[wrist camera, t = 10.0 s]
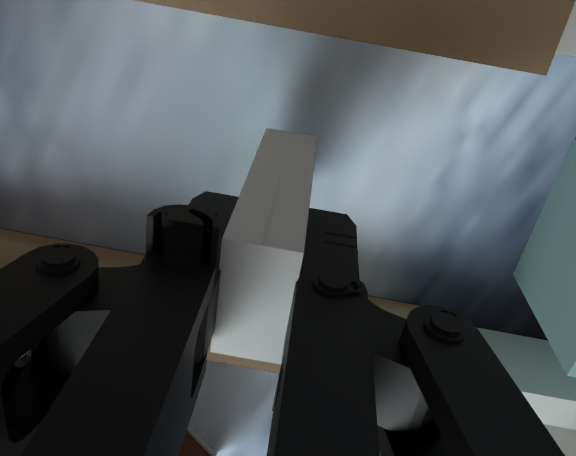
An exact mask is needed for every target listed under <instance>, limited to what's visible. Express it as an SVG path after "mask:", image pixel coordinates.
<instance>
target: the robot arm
mask: <svg viewBox="0 0 576 456" xmlns="http://www.w3.org/2000/svg"><path fill="white" fill-rule="evenodd" d="M316 145H317V137H315V136H310V135H304V134H298V133H292V132H287V131H281V130H275V129H270V128H267V129H266V131H265V134H264V136H263V138H262V141H261V143H260V146H259V148H258V151H257V153H256V156H255V158H254V161H253V163H252V166H251V168H250V171H249V173H248V176H247V178H246V181H245V183H244V186H243V188H242V191H241V193H240V196H239V197H235V196H230V195H224V194H218V193H213V192H207V191H206V192H204V193H202V194H200V195H198V196H197V197H195V198H193V199H192V200H191V202H190V204H189V205H169V206H163V207H160V208H157V209H154V210H153V211H152V212H150V213H149V214H148V215H147V230H146V255H145V257H144V258H143V260H142V261H141V263H140V264H138V265H133V266H124V267H99V261H98V257H97V256H96V255H95V253H94V252H93V251H91V250H89V249H88V248H86V247H84V246H79V245H74V244H67V243H63V244H62V243H56V244H51V245H46V246H41V247H38V248H36V249H33V250H31V251H29V252H27V253H25V254H24V255H22V256H20V257H19V258H17V259H15V260H14V261H12V262H11V263H9V264H7V265H6V266H4V267H3V268H1V269H0V456H179V453H180V450H181V447H182V444H183V441H184V438H185V434H186V431H187V428H188V425H189V422H190V418H191V415H192V412H193V409H194V406H195V402H196V399H197V396H198V393H199V390H200V386H201V383H202V380H203V377H204V374H205V370H206V360H207V351H208V348H209V345H210V342H211V350H210V352H213V353H218V354H224V355H230V356H235V357H241V358H247V359H252V360H258V361H264V362H269V363H275V364H281V368H280V373H279V378H278V383H277V388H276V393H275V399H274V404H273V409H272V411H273V417H272V424H271V431H270V438H269V444H268V451H267V456H380V454H381V456H565V455H564V453H563V452H562V450H561V449H560V447H559V446H558V445H557V443H556V442H555V440H554V439H553V437H552V436H551V434H550V433H549V431H548V430H547V429H546V427H545V426H544V424H543V423H542V421H541V420H540V418H539V417H538V415H537V414H536V413H535V411H534V410H533V408H532V407H531V405H530V404H529V402H528V401H527V399H526V398H525V397H524V395H523V394H522V392H521V391H520V389H519V388H518V386H517V385H516V383H515V382H514V381H513V379H512V378H511V376H510V375H509V373H508V372H507V370H506V369H505V367H504V366H503V365H502V363H501V362H500V360H499V359H498V357H497V356H496V354H495V353H494V351H493V350H492V349H491V347H490V346H489V344H488V343H487V341H486V340H485V338H484V337H483V335H482V334H481V333H480V331H479V330H478V329H477V328H476V327H475V326H474V324H473V323H472V322H471V321H470V320H468V319H467V318H465V317H463V316H462V315H460V314H459V313H457V312H455V311H452V310H449V309H447V308H444V307H437V306H431V305H428V306H420V307H417V308H415V309H413V310H411V311H410V312H409V314H408V316H407V319H405V318H403V317H400V316H398V315H395V314H393V313H390V312H388V311H386V310H384V309H382V308H380V307H378V306H377V305H375V304H374V303H372V302H371V301H370V300H369V299H368V293H367V290H366V288H365V285H364V284H363V283H362V282H361V281H360V280H359V267H358V250H357V233H356V225H355V224H354V223H353V221H352V220H351V219H350V217H349V216H348V215H347V214H341V213H335V212H330V211H324V210H318V209H313V208H309V204H310V196H311V187H312V179H313V171H314V162H315V154H316ZM211 339H212V340H211ZM25 353H26V354H25ZM24 354H25V355H24ZM19 358H20V359H19ZM18 359H19V360H18ZM379 451H380V452H379Z"/></svg>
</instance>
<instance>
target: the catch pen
mask: <svg viewBox="0 0 576 456" xmlns="http://www.w3.org/2000/svg"><path fill="white" fill-rule="evenodd" d="M570 1H574V2H575V4H574V6H573V9H572V11H571V14H570V16H569V19H568V22H567V24H566V27H565V29H564V32H563V34H562V37H561V39H560V42H559V44H558V47H557V50H556V52H555V54H560V55H566V56H571V57H576V0H570ZM476 328H477V327H476ZM477 329H478V330H479V331H480V333H481V334H482V335H483V337H484V338H485V340H486V341H487V343H488V344H489V346H490V347H491V349H492V350H493V351H494V353H495V354H496V356H497V357H498V359H499V360H500V362H501V363H502V365H503V366H504V367H505V369H506V370H507V372H508V373H509V375H510V376H511V378H512V379H513V381H514V382H515V383H516V385H517V386H518V388H519V389H520V391H521V392H522V394H523V395H524V397H525V398H526V399H527V401H528V402H529V404H530V405H531V407H532V408H533V410H534V411H535V413H536V414H537V415H538V417H539V418H540V420H541V421H542V423H543V424H546V425H551V426H557V427H562V428H568V429H573V430H576V377H570V376H567V375H566V373H565V371H564V370H563V368H562V366H561V364H560V362H559V360H558V358H557V356H556V354H555V353H554V351H553V349H552V347H551V345H550V343H549V341H548V340H543V339H537V338H532V337H526V336H521V335H515V334H510V333H504V332H499V331H493V330H488V329H483V328H477Z"/></svg>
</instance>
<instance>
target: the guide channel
mask: <svg viewBox="0 0 576 456" xmlns="http://www.w3.org/2000/svg"><path fill="white" fill-rule="evenodd" d="M136 1H141V2H147V3H152V4H157V5H163V6H168V7H174V8H179V9H185V10H190V11H196V12H201V13H207V14H212V15H218V16H223V17H229V18H234V19H240V20H245V21H250V22H256V23H261V24H267V25H272V26H278V27H283V28H289V29H294V30H300V31H305V32H311V33H316V34H322V35H327V36H333V37H338V38H343V39H349V40H354V41H360V42H365V43H371V44H376V45H382V46H387V47H393V48H398V49H404V50H409V51H415V52H420V53H426V54H431V55H436V56H442V57H447V58H453V59H458V60H464V61H469V62H475V63H480V64H486V65H491V66H497V67H502V68H508V69H513V70H519V71H524V72H529V73H535V74H540V75H547V73H548V70H549V67H550V65H551V62H552V60H553V57H554V55H555V52H556V50H557V47H558V44H559V42H560V39H561V37H562V34H563V32H564V29H565V27H566V24H567V22H568V19H569V16H570V14H571V11H572V9H573V6H574V4H575V2H574V1H570V0H136ZM56 243H62V244H63V243H67V244H74V245H79V246H84V247H86V248H88V249H89V250H91V251H93V252H94V253H95V255H96V256H97V257H98V261H99V267H124V266H133V265H138V264H140V263H141V261H142V260H143V258H144V257H145V255H141V254H136V253H130V252H125V251H119V250H114V249H108V248H103V247H98V246H92V245H87V244H81V243H76V242H70V241H65V240H59V239H54V238H48V237H43V236H38V235H32V234H27V233H21V232H16V231H10V230H5V229H0V269H1V268H3V267H4V266H6V265H7V264H9V263H11V262H12V261H14V260H15V259H17V258H19V257H20V256H22V255H24V254H25V253H27V252H29V251H31V250H33V249H36V248H38V247H41V246H46V245H51V244H56ZM368 299H369V300H370V301H371V302H372V303H374V304H375V305H377V306H378V307H380V308H382V309H384V310H386V311H388V312H390V313H393V314H395V315H398V316H400V317H403V318H405V319H407V316H408V314H409V312H410V311H411V310H413V309H415V308H417V307H420V306H419V305H414V304H409V303H403V302H398V301H392V300H387V299H381V298H376V297H370V296H368ZM211 340H212V339H211ZM210 350H211V342H210V345H209V348H208V351H207V360H209V361H215V362H220V363H226V364H231V365H237V366H242V367H248V368H253V369H258V370H264V371H269V372H275V373H280V368H281V364H275V363H269V362H264V361H258V360H252V359H247V358H241V357H235V356H230V355H224V354H218V353H213V352H210Z"/></svg>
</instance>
